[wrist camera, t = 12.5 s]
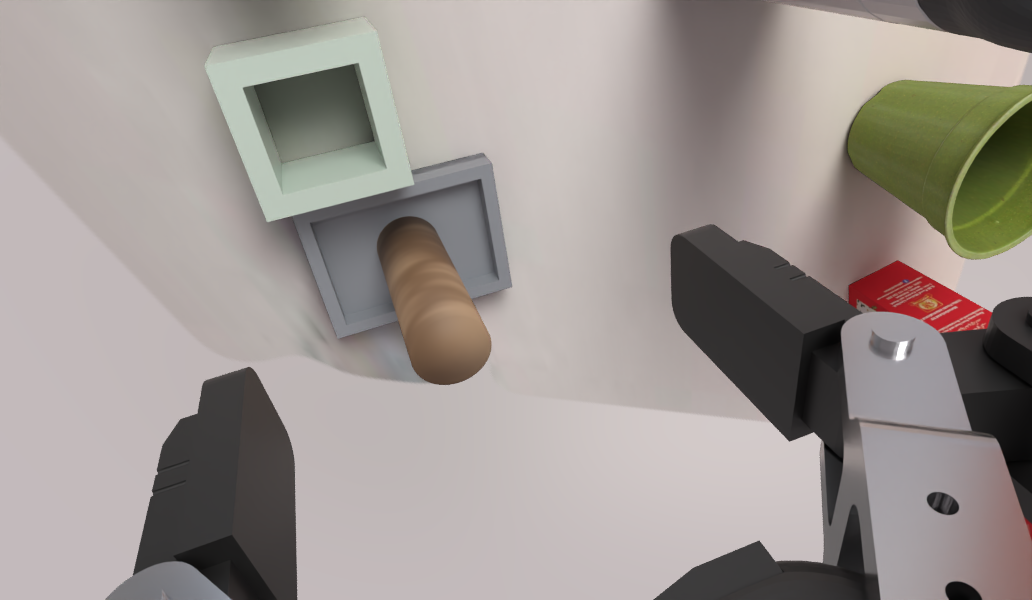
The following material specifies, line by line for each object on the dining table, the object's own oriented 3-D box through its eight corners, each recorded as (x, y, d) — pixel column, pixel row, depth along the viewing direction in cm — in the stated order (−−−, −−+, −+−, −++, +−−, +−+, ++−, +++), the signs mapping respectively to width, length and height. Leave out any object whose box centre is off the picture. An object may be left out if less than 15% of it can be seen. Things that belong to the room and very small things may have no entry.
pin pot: (364, 16, 33) (376, 30, 29) (399, 155, 37) (414, 184, 33) (213, 46, 32) (204, 66, 28) (268, 187, 36) (267, 222, 32)
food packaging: (891, 369, 66) (1164, 572, 45) (848, 392, 65) (1105, 606, 45) (898, 260, 57) (1239, 449, 37) (848, 285, 57) (1167, 490, 36)
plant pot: (821, 222, 51) (938, 288, 42) (818, 86, 44) (957, 130, 35) (941, 163, 52) (1081, 215, 43) (956, 20, 45) (1127, 47, 36)
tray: (482, 152, 39) (491, 162, 37) (503, 273, 44) (512, 286, 42) (290, 201, 37) (290, 214, 35) (335, 322, 42) (337, 338, 40)
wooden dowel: (431, 209, 39) (484, 306, 29) (444, 263, 41) (497, 370, 32) (369, 225, 38) (401, 331, 29) (385, 280, 40) (420, 394, 31)
